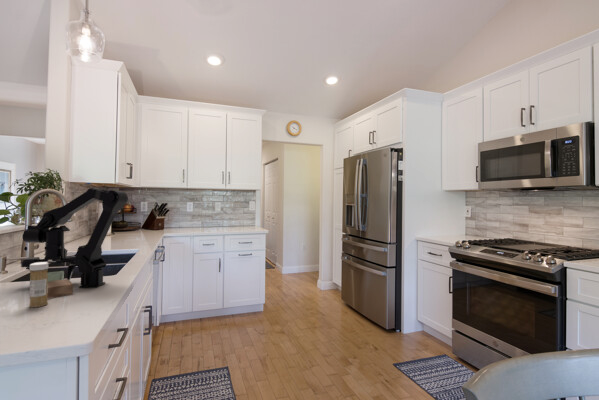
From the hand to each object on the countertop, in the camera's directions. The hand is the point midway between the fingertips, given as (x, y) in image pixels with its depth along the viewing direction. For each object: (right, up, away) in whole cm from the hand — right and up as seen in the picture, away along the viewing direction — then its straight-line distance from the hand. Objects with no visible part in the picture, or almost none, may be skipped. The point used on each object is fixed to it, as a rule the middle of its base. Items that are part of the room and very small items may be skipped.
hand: (54, 282), depth 121 cm
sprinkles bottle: (+13, -1, -23) cm, 26 cm away
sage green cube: (0, -1, 0) cm, 1 cm away
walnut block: (+8, -2, -11) cm, 14 cm away
